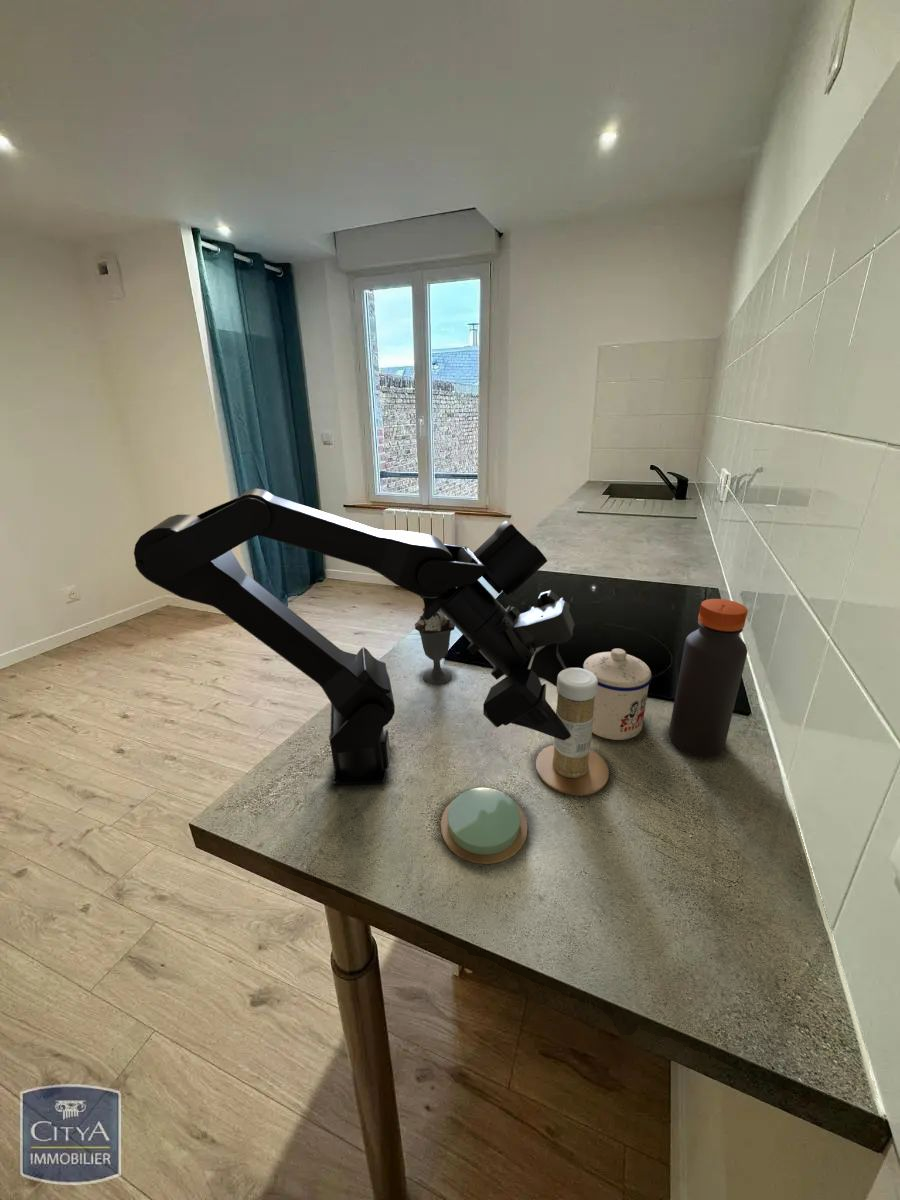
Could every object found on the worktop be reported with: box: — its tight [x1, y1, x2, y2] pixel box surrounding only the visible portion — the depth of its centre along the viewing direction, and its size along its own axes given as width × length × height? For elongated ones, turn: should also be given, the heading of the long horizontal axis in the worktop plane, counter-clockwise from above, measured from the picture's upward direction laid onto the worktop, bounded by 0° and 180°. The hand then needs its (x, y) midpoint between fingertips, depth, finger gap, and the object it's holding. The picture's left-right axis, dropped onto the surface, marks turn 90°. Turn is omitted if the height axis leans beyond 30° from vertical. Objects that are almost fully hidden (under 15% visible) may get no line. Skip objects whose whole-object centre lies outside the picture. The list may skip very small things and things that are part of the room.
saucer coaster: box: [440, 800, 528, 865], centre depth 52 cm, size 10×10×1 cm
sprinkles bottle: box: [552, 667, 598, 778], centre depth 57 cm, size 5×5×13 cm
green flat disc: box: [448, 787, 520, 855], centre depth 52 cm, size 8×8×1 cm
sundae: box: [414, 596, 456, 685], centre depth 78 cm, size 7×7×15 cm
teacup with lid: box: [582, 648, 653, 741], centre depth 67 cm, size 12×9×12 cm
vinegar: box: [668, 598, 749, 758], centre depth 60 cm, size 7×7×20 cm
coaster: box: [535, 744, 610, 796], centre depth 60 cm, size 9×9×1 cm
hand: (571, 713), depth 57 cm, fingers open, 9 cm apart
